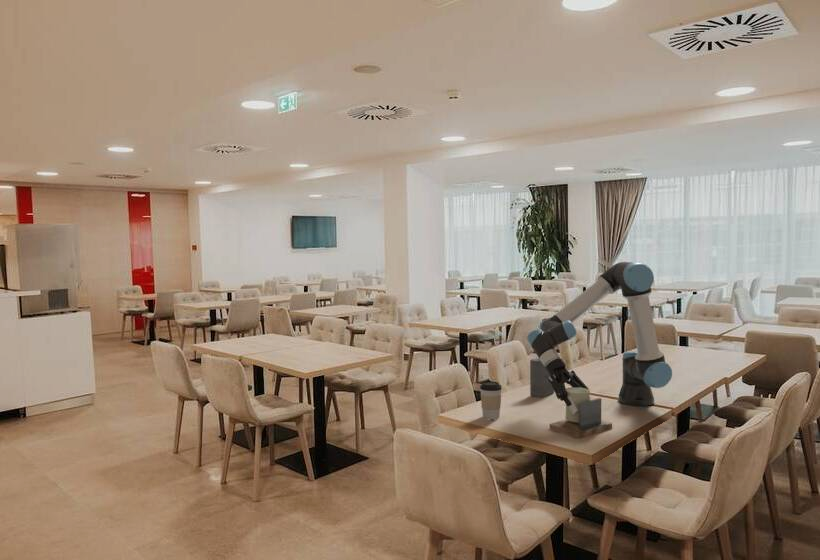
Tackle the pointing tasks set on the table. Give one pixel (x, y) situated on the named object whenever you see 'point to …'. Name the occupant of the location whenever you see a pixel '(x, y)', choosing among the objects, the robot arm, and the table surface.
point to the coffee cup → (490, 399)
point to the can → (576, 401)
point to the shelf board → (577, 428)
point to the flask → (539, 379)
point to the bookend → (590, 415)
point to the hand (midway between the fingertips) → (584, 410)
